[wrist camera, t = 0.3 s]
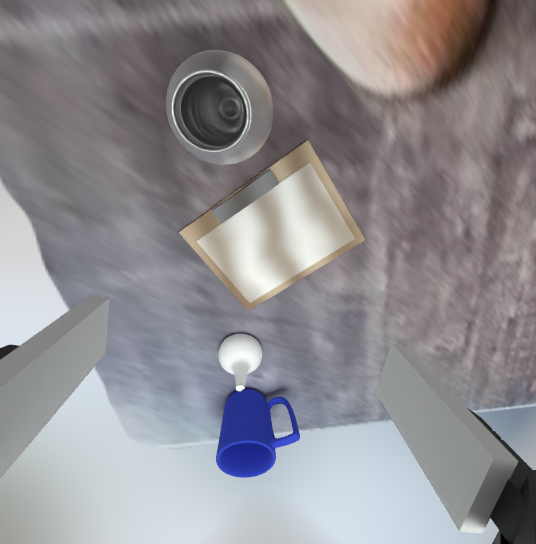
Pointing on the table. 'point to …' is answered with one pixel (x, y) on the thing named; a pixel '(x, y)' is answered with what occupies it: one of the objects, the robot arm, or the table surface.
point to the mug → (250, 434)
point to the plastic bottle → (219, 107)
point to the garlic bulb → (240, 357)
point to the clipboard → (275, 228)
